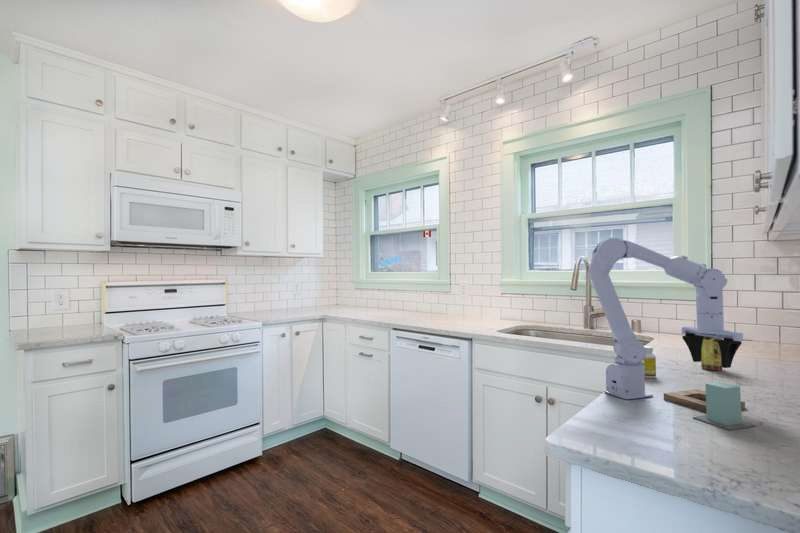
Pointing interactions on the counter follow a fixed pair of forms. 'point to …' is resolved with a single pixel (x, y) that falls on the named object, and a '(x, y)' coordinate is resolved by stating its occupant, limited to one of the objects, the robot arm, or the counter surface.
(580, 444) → the counter surface
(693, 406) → the block
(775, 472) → the counter surface
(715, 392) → the peg
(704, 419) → the rubber mat
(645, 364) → the supplement bottle
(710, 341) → the sauce bottle
